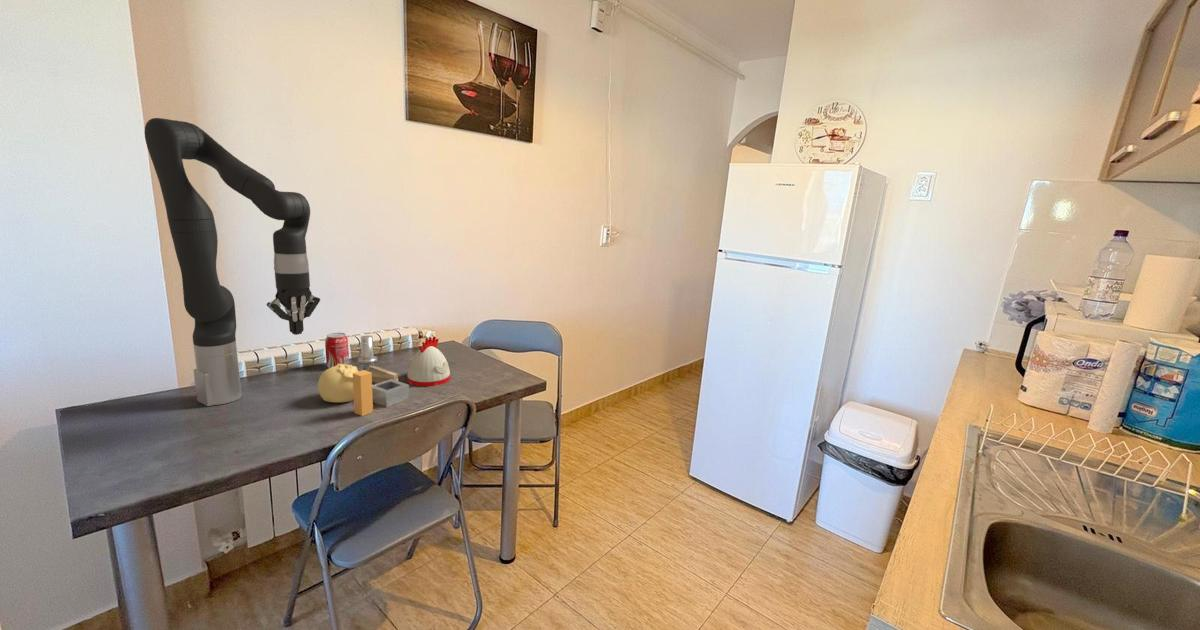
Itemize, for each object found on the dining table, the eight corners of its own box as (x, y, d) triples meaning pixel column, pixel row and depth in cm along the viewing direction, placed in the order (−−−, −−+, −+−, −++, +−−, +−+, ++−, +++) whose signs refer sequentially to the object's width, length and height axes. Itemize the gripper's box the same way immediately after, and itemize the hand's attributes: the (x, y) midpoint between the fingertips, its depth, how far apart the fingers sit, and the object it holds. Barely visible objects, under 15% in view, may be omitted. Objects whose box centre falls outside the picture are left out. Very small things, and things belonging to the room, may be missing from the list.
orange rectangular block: (362, 416, 130) (360, 376, 127) (354, 412, 132) (352, 373, 129) (373, 411, 133) (371, 372, 130) (365, 408, 135) (363, 369, 132)
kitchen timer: (458, 377, 164) (458, 336, 160) (429, 389, 151) (428, 346, 148) (428, 369, 169) (428, 329, 166) (398, 380, 157) (397, 338, 153)
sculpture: (366, 402, 138) (364, 369, 136) (319, 409, 132) (317, 374, 130) (362, 389, 148) (360, 357, 145) (318, 394, 141) (316, 361, 139)
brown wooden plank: (394, 389, 149) (393, 375, 148) (369, 380, 155) (369, 366, 153) (398, 388, 150) (397, 373, 149) (373, 379, 156) (373, 365, 155)
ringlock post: (365, 380, 154) (364, 340, 151) (354, 376, 157) (352, 337, 154) (381, 375, 160) (380, 336, 156) (370, 371, 162) (368, 333, 159)
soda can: (329, 364, 166) (327, 332, 164) (351, 363, 168) (349, 332, 166) (324, 371, 160) (322, 337, 157) (347, 370, 162) (345, 337, 159)
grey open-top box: (386, 407, 137) (386, 392, 136) (369, 400, 140) (368, 386, 139) (409, 398, 144) (408, 384, 143) (391, 392, 147) (391, 378, 146)
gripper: (272, 274, 114) (278, 341, 117) (325, 269, 125) (329, 331, 129) (255, 270, 117) (262, 336, 121) (309, 266, 128) (313, 326, 132)
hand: (297, 333), depth 125 cm, fingers closed
